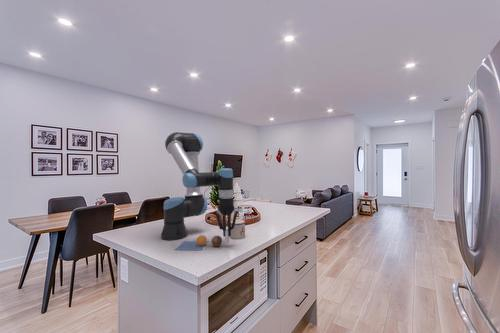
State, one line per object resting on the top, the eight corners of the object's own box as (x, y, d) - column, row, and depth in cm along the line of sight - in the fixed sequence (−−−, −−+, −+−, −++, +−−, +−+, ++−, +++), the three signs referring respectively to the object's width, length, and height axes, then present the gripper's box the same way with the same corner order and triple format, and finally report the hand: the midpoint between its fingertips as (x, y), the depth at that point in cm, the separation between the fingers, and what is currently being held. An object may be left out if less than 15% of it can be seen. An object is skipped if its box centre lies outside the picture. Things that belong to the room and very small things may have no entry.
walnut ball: (223, 243, 122) (215, 250, 122) (225, 239, 127) (217, 246, 127) (215, 235, 122) (208, 242, 122) (217, 231, 127) (210, 238, 127)
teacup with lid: (243, 239, 135) (243, 219, 135) (228, 238, 137) (227, 218, 137) (247, 233, 147) (247, 214, 147) (233, 233, 149) (233, 214, 149)
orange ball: (202, 249, 123) (193, 244, 123) (205, 245, 128) (196, 240, 129) (206, 240, 123) (197, 235, 123) (209, 237, 128) (201, 232, 129)
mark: (174, 250, 120) (174, 249, 120) (184, 241, 134) (184, 241, 134) (201, 250, 119) (201, 250, 119) (208, 241, 132) (208, 241, 132)
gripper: (212, 198, 121) (213, 244, 121) (237, 198, 120) (238, 245, 120) (215, 196, 129) (216, 240, 129) (239, 196, 127) (240, 240, 127)
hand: (227, 242), depth 124 cm, fingers closed
